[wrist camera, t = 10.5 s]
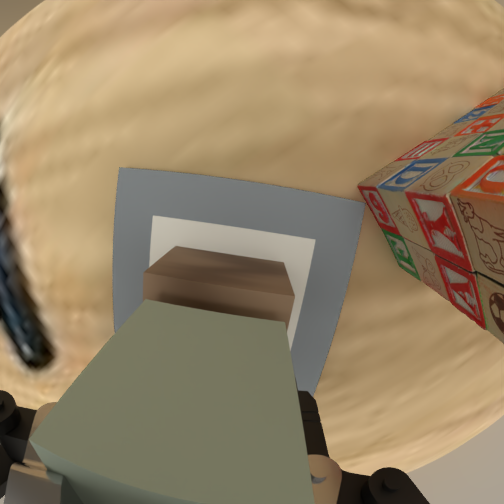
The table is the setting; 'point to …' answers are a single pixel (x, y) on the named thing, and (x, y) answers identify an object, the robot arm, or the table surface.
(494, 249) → the stack of blocks
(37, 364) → the table surface
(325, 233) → the board
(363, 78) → the table surface
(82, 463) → the sage block
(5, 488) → the robot arm
